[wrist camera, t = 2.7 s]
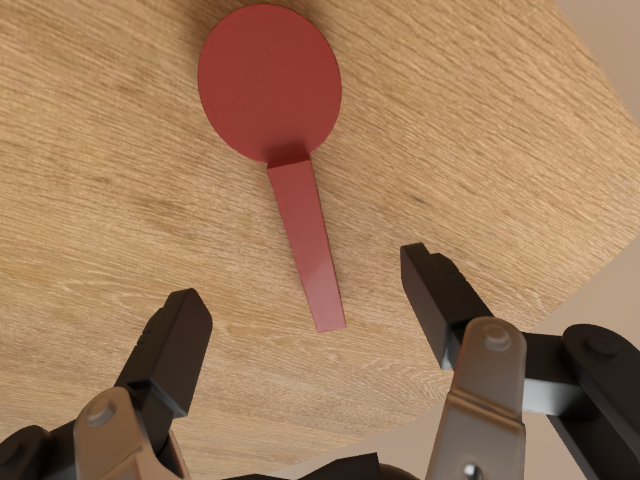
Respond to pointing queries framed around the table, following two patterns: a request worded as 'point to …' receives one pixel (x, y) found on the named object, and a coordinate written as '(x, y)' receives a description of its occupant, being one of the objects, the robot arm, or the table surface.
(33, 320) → the table surface
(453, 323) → the robot arm
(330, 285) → the red flat paddle piece
